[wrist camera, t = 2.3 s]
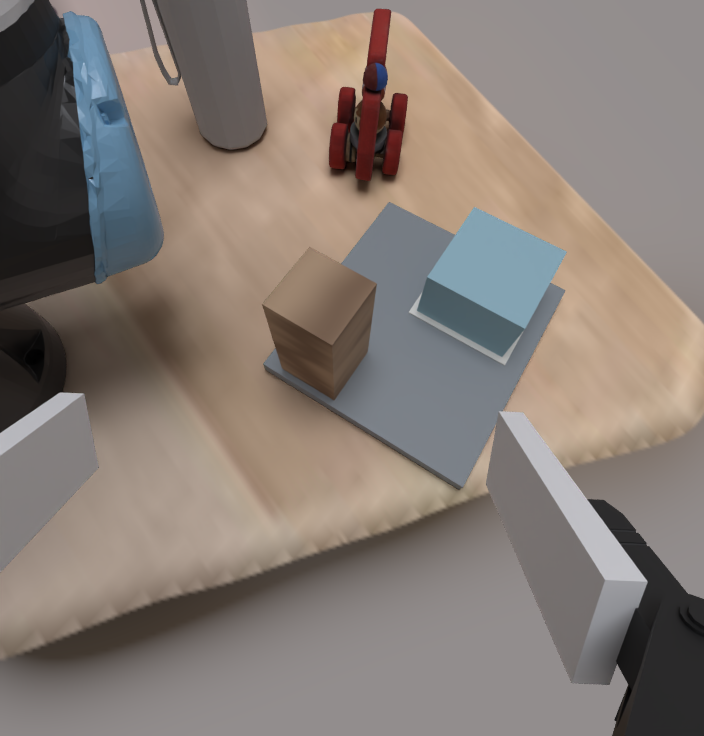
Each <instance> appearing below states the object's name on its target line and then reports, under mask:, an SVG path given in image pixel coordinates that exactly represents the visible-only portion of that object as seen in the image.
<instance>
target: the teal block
mask: <svg viewBox="0 0 704 736" xmlns="http://www.w3.org/2000/svg"><path fill="white" fill-rule="evenodd" d="M566 253H567V252H566V251H564V250H562V249H560V248H558V247H556V246H554V245H552V244H550V243H548V242H546V241H543V240H541V239H539V238H537V237H535V236H533V235H531V234H529V233H527V232H525V231H523V230H521V229H519V228H517V227H515V226H512V225H510V224H508V223H506V222H504V221H502V220H500V219H498V218H496V217H494V216H492V215H490V214H488V213H486V212H484V211H482V210H479V209H477V208H475V207H474V208H473V210H472V211H471V213H470V214H469V216H468V217H467V219H466V220H465V222H464V223H463V225H462V226H461V228H460V229H459V231H458V232H457V234H456V235H455V237H454V238H453V239H452V241H451V242H450V244H449V245H448V247H447V248H446V250H445V251H444V253H443V254H442V256H441V257H440V259H439V260H438V262H437V263H436V265H435V266H434V268H433V269H432V271H431V272H430V273H429V275H428V276H427V279H426V282H425V285H424V289H423V292H422V295H421V298H420V301H419V305H418V308H417V311H418V312H420V313H422V314H424V315H426V316H427V317H429V318H431V319H433V320H435V321H437V322H438V323H440V324H442V325H444V326H446V327H448V328H449V329H451V330H453V331H455V332H457V333H458V334H460V335H462V336H464V337H466V338H468V339H469V340H471V341H473V342H475V343H477V344H479V345H480V346H482V347H484V348H486V349H488V350H490V351H491V352H493V353H495V354H497V355H499V356H501V357H503V355H504V354H505V353H506V352H507V351H508V349H509V348H510V347H511V346H512V344H513V343H514V342H515V341H516V339H517V338H518V337H519V336H520V335H521V333H522V332H523V331H524V330H525V328H526V326H527V324H528V323H529V321H530V319H531V317H532V315H533V313H534V312H535V310H536V308H537V306H538V304H539V302H540V300H541V299H542V297H543V295H544V293H545V291H546V289H547V288H548V286H549V284H550V282H551V280H552V278H553V277H554V275H555V273H556V271H557V269H558V267H559V265H560V264H561V262H562V260H563V258H564V256H565V254H566Z"/></svg>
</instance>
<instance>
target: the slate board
mask: <svg viewBox="0 0 704 736" xmlns="http://www.w3.org/2000/svg"><path fill="white" fill-rule="evenodd" d="M454 237H455V235H454V234H452V233H450V232H448V231H446V230H444V229H442V228H440V227H438V226H436V225H434V224H432V223H430V222H428V221H426V220H424V219H422V218H420V217H418V216H416V215H414V214H412V213H410V212H408V211H406V210H404V209H402V208H400V207H398V206H396V205H394V204H392V203H390V202H389V203H388V204H387V205H386V207H385V208H384V209H383V211H382V212H381V213H380V214H379V216H378V217H377V218H376V220H375V221H374V222H373V223H372V225H371V226H370V227H369V229H368V230H367V231H366V232H365V234H364V235H363V236H362V238H361V239H360V240H359V241H358V243H357V244H356V245H355V247H354V248H353V249H352V250H351V252H350V253H349V254H348V256H347V257H346V258H345V259H344V261H343V262H342V263H341V264H342V265H344V266H346V267H347V268H349V269H351V270H353V271H355V272H357V273H358V274H360V275H362V276H364V277H366V278H368V279H369V280H371V281H373V282H375V283H377V287H376V294H375V302H374V309H373V317H372V324H371V332H370V339H369V347H368V352H367V354H366V355H365V357H364V358H363V360H362V361H361V362H360V364H359V365H358V367H357V368H356V370H355V371H354V373H353V374H352V376H351V377H350V379H349V380H348V381H347V383H346V384H345V386H344V387H343V389H342V390H341V392H340V393H339V395H338V396H337V398H336V399H335V400H332V399H331V398H329V397H328V396H326V395H324V394H323V393H321V392H319V391H318V390H316V389H315V388H313V387H311V386H310V385H308V384H306V383H305V382H303V381H302V380H300V379H298V378H297V377H295V376H293V375H292V374H290V373H288V372H287V371H285V370H284V369H282V367H281V364H280V360H279V357H278V354H277V351H276V348H275V349H274V351H273V352H272V353H271V355H270V356H269V357H268V358H267V360H266V361H265V362H264V364H263V365H264V367H265V370H267V371H268V372H270V373H272V374H273V375H275V376H276V377H278V378H280V379H281V380H283V381H284V382H286V383H288V384H289V385H291V386H293V387H294V388H296V389H297V390H299V391H301V392H302V393H304V394H305V395H307V396H309V397H310V398H312V399H314V400H315V401H317V402H318V403H320V404H322V405H323V406H325V407H326V408H328V409H330V410H331V411H333V412H335V413H336V414H338V415H339V416H341V417H343V418H344V419H346V420H347V421H349V422H351V423H352V424H354V425H355V426H357V427H359V428H360V429H362V430H364V431H365V432H367V433H368V434H370V435H372V436H373V437H375V438H376V439H378V440H380V441H381V442H383V443H385V444H386V445H388V446H389V447H391V448H393V449H394V450H396V451H397V452H399V453H401V454H402V455H404V456H406V457H407V458H409V459H410V460H412V461H414V462H415V463H417V464H418V465H420V466H422V467H423V468H425V469H426V470H428V471H430V472H431V473H433V474H435V475H436V476H438V477H439V478H441V479H443V480H444V481H446V482H447V483H449V484H451V485H452V486H454V487H456V488H457V489H461V488H462V487H463V486H464V484H465V482H466V480H467V478H468V476H469V474H470V472H471V471H472V469H473V467H474V465H475V463H476V461H477V459H478V457H479V455H480V453H481V451H482V449H483V448H484V446H485V444H486V442H487V440H488V438H489V436H490V434H491V432H492V430H493V428H494V426H495V425H496V423H497V418H498V413H499V411H503V409H504V407H505V405H506V404H507V402H508V400H509V398H510V396H511V394H512V392H513V390H514V388H515V386H516V384H517V382H518V381H519V379H520V377H521V375H522V373H523V371H524V369H525V367H526V365H527V363H528V361H529V359H530V358H531V356H532V354H533V352H534V350H535V348H536V346H537V344H538V342H539V340H540V338H541V336H542V335H543V333H544V331H545V329H546V327H547V325H548V323H549V321H550V319H551V317H552V315H553V313H554V312H555V310H556V308H557V306H558V304H559V302H560V300H561V298H562V296H563V294H564V292H565V290H564V289H562V288H560V287H558V286H556V285H554V284H552V283H550V284H549V286H548V288H547V289H546V291H545V293H544V295H543V297H542V299H541V300H540V302H539V304H538V306H537V308H536V310H535V312H534V313H533V315H532V317H531V319H530V321H529V323H528V324H527V326H526V328H525V330H524V331H523V332H522V333H521V335H520V336H519V337H518V338H517V339H516V341H515V342H514V343H513V344H512V346H511V347H510V348H509V349H508V351H507V352H506V353H505V354H504V355H503V357H501V356H499V355H497V354H495V353H493V352H491V351H490V350H488V349H486V348H484V347H482V346H480V345H479V344H477V343H475V342H473V341H471V340H469V339H468V338H466V337H464V336H462V335H460V334H458V333H457V332H455V331H453V330H451V329H449V328H448V327H446V326H444V325H442V324H440V323H438V322H437V321H435V320H433V319H431V318H429V317H427V316H426V315H424V314H422V313H420V312H418V311H417V308H418V305H419V301H420V298H421V295H422V292H423V289H424V285H425V282H426V279H427V276H428V275H429V273H430V272H431V271H432V269H433V268H434V266H435V265H436V263H437V262H438V260H439V259H440V257H441V256H442V254H443V253H444V251H445V250H446V248H447V247H448V245H449V244H450V242H451V241H452V239H453V238H454Z"/></svg>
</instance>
